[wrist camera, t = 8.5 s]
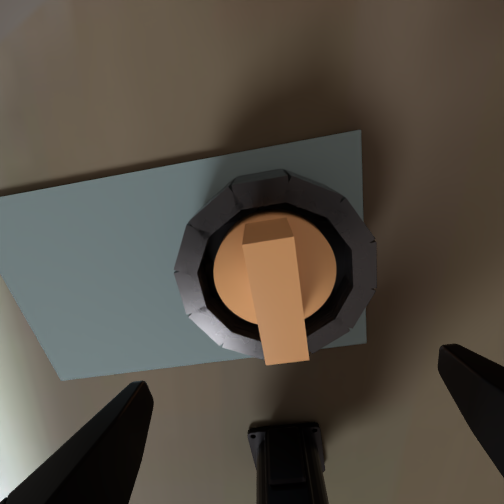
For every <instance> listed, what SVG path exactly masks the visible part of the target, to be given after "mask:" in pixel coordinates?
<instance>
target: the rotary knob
mask: <svg viewBox="0 0 504 504" xmlns="http://www.w3.org/2000/svg"><path fill="white" fill-rule="evenodd" d="M213 272H214V282H215V286H216V289H217V292H218V294H219V296H220V298H221V299H222V301H223V302H224V304H225V305H226V306H227V307H228V308H229V309H230V310H231V311H232V312H233V313H235V314H236V315H238V316H239V317H241V318H242V319H244V320H246V321H249V322H251V323H254V324H258V328H259V333H260V338H261V343H262V348H263V353H264V358H265V363H266V365H273V364H282V363H290V362H299V361H307V360H309V353H308V345H307V337H306V329H305V321H304V319H305V318H307V317H309V316H311V315H312V314H313V313H315V312H316V311H317V310H318V309H319V308H320V307H321V306H322V305H323V304H324V303H325V302H326V300H327V299H328V297H329V296H330V294H331V292H332V289H333V287H334V284H335V279H336V260H335V256H334V253H333V250H332V248H331V246H330V244H329V243H328V241H327V240H326V238H325V237H324V236H323V234H322V233H321V232H320V230H319V229H318V228H317V227H316V226H315V225H314V224H313V223H312V222H311V221H310V220H308V219H307V218H305V217H304V216H302V215H300V214H297V213H295V212H292V211H288V210H283V209H266V210H261V211H257V212H254V213H251V214H249V215H247V216H245V217H243V218H242V219H240V220H239V221H238V222H236V223H235V224H234V225H233V226H232V227H231V228H230V229H229V230H228V232H227V233H226V235H225V236H224V238H223V240H222V242H221V244H220V247H219V250H218V252H217V255H216V258H215V262H214V270H213Z"/></svg>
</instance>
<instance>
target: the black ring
mask: <svg viewBox="0 0 504 504" xmlns="http://www.w3.org/2000/svg"><path fill="white" fill-rule="evenodd" d="M266 209H283V210H288V211H292V212H295V213H297V214H300V215H302V216H304V217H305V218H307V219H308V220H310V221H311V222H312V223H313V224H314V225H315V226H316V227H317V228H318V229H319V230H320V232H321V233H322V234H323V236H324V237H325V238H326V240H327V241H328V243H329V244H330V246H331V248H332V250H333V253H334V256H335V260H336V279H335V284H334V287H333V289H332V292H331V294H330V296H329V297H328V299H327V300H326V302H325V303H324V304H323V305H322V306H321V307H320V308H319V309H318V310H317V311H316V312H315V313H313V314H312V315H311V316H309V317H307V318H305V319H304V321H305V329H306V337H307V345H308V353H309V350H310V352H311V353H312V354H313V353H315V352H316V351H318V350H320V349H321V348H323V347H325V346H326V345H328V344H330V343H331V342H333V341H335V340H336V339H338V338H340V337H341V336H343V335H344V334H346V333H348V332H349V331H350V329H349V328H352V329H353V327H354V326H355V324H356V322H357V321H358V319H359V318H360V316H361V314H362V313H363V311H364V309H365V308H366V306H367V305H368V303H369V301H370V300H371V298H372V296H373V295H374V293H375V291H376V290H375V289H374V288H377V259H376V241H375V240H374V239H375V238H374V236H373V235H372V233H371V232H370V231H369V229H368V228H367V226H366V225H365V224H364V222H363V221H362V219H361V218H360V216H359V215H358V214H357V212H356V211H355V209H354V208H353V207H352V205H351V204H350V202H349V201H348V200H347V198H346V197H344V196H343V195H341V194H340V193H338V192H336V191H335V190H333V189H331V188H329V187H328V186H326V185H324V184H322V183H319V182H317V181H314V180H312V179H309V178H306V177H304V176H301V175H299V174H296V173H294V172H291V171H288V170H286V169H283V170H282V169H281V168H280V169H275V170H269V171H264V172H258V173H253V174H247V175H241V176H237V178H234V179H233V180H231V181H230V182H229V183H228V184H227V185H226V186H225V187H224V188H222V189H221V190H220V191H219V192H218V193H217V194H216V195H214V196H213V197H212V198H211V199H210V200H209V201H208V202H206V203H205V204H204V205H203V206H202V207H201V208H200V210H199V211H198V212H197V213H196V214H195V215H194V216H193V217H192V218H191V219H190V220H189V221H188V223H187V225H186V228H185V231H184V235H183V238H182V242H181V245H180V249H179V252H178V256H177V259H176V263H175V266H174V270H175V272H174V276H175V279H176V282H177V286H178V289H179V292H180V295H181V298H182V302H183V305H184V308H185V311H186V314H189V316H188V317H189V318H190V319H191V320H192V321H193V322H194V323H195V324H196V325H197V326H198V327H200V328H201V329H202V330H203V331H204V332H205V333H206V334H207V335H208V336H209V337H210V338H211V339H213V340H214V341H215V342H216V343H217V344H218V345H219V346H220V345H221V344H222V347H223V348H226V349H229V350H233V351H236V352H239V353H242V354H246V355H249V356H252V357H256V358H259V359H262V360H263V359H264V353H263V348H262V343H261V338H260V333H259V328H258V324H254V323H251V322H249V321H246V320H244V319H242V318H241V317H239V316H238V315H236V314H235V313H233V312H232V311H231V310H230V309H229V308H228V307H227V306H226V305H225V304H224V302H223V301H222V299H221V298H220V296H219V294H218V292H217V289H216V286H215V282H214V272H213V270H214V262H215V258H216V255H217V252H218V250H219V247H220V244H221V242H222V240H223V238H224V236H225V235H226V233H227V232H228V230H229V229H230V228H231V227H232V226H233V225H234V224H235V223H236V222H238V221H239V220H240V219H242V218H243V217H245V216H247V215H249V214H251V213H254V212H257V211H261V210H266ZM309 355H310V353H309Z"/></svg>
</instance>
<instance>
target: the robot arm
mask: <svg viewBox="0 0 504 504" xmlns="http://www.w3.org/2000/svg"><path fill="white" fill-rule="evenodd" d="M438 371H439V374H440V376H441V378H442V379H443V381H444V383H445V385H446V387H447V388H448V390H449V392H450V394H451V395H452V397H453V399H454V401H455V403H456V404H457V406H458V408H459V410H460V411H461V413H462V415H463V417H464V419H465V420H466V422H467V424H468V425H469V427H470V429H471V430H472V432H473V433H474V435H475V436H476V438H477V440H478V441H479V442H480V444H481V445H482V447H483V448H484V450H485V451H486V453H487V454H488V456H489V457H490V458H491V460H492V461H493V463H494V464H495V466H496V467H497V469H498V470H499V472H500V473H501V475H502V476H503V477H504V367H503V366H501V365H499V364H497V363H495V362H493V361H491V360H489V359H487V358H485V357H483V356H481V355H479V354H477V353H475V352H473V351H471V350H469V349H467V348H465V347H463V346H461V345H458V344H447V345H442V346H441V347H440V349H439V359H438ZM153 405H154V401H153V397H152V395H151V392H150V390H149V388H148V385H147V383H146V382H145V381H136V382H132V383H130V384H129V385H128V386H127V387H126V388H124V389H123V390H122V391H121V392H120V393H119V394H118V395H117V396H116V397H115V398H114V399H112V400H111V401H110V402H109V403H108V404H107V405H106V406H105V407H104V408H103V409H102V410H100V411H99V412H98V413H97V414H96V415H95V416H94V417H93V418H92V419H91V420H90V421H88V422H87V423H86V424H85V425H84V426H83V427H82V428H81V429H80V430H79V431H78V432H76V433H75V434H74V435H73V436H72V437H71V438H70V439H69V440H68V441H67V442H66V443H64V444H63V445H62V446H61V447H60V448H59V449H58V450H57V451H56V452H55V453H54V454H52V455H51V456H50V457H49V458H48V459H47V460H46V461H45V462H44V463H43V464H42V465H40V466H39V467H38V468H37V469H36V470H35V471H34V472H33V473H32V474H31V475H29V476H28V477H27V478H26V479H25V480H24V481H23V482H22V483H21V484H20V485H19V486H17V487H16V488H15V489H14V490H13V491H12V492H11V493H10V494H9V495H8V498H7V497H6V498H4V499H3V500H2V501H1V502H0V504H128V503H129V500H130V497H131V494H132V490H133V487H134V484H135V481H136V477H137V474H138V471H139V468H140V464H141V461H142V457H143V453H144V448H145V443H146V439H147V434H148V429H149V425H150V420H151V416H152V411H153ZM248 440H249V444H250V448H251V452H252V455H253V459H254V463H255V467H256V470H257V502H256V504H329V502H328V497H327V492H326V487H325V482H324V477H323V472H324V471H325V465H324V457H323V448H322V440H321V432H320V426H319V424H318V423H316V422H312V423H302V424H292V425H282V426H272V427H262V428H252V429H249V430H248Z"/></svg>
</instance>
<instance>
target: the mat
mask: <svg viewBox="0 0 504 504" xmlns="http://www.w3.org/2000/svg"><path fill="white" fill-rule="evenodd" d="M280 168H281V169H282V170H283V169H286V170H288V171H291V172H294V173H296V174H299V175H301V176H304V177H306V178H309V179H312V180H314V181H317V182H319V183H322V184H324V185H326V186H328V187H329V188H331V189H333V190H335V191H336V192H338V193H340V194H341V195H343V196H344V197H346V198H347V200H348V201H349V202H350V204H351V205H352V207H353V208H354V209H355V211H356V212H357V214H358V215H359V216H360V218H361V219H362V221H363V185H362V147H361V130H355V131H350V132H345V133H339V134H334V135H329V136H323V137H318V138H313V139H307V140H302V141H297V142H291V143H286V144H281V145H275V146H270V147H265V148H259V149H254V150H249V151H243V152H238V153H233V154H227V155H222V156H217V157H211V158H206V159H201V160H195V161H190V162H185V163H179V164H174V165H169V166H163V167H158V168H152V169H147V170H142V171H136V172H131V173H126V174H120V175H115V176H110V177H104V178H99V179H94V180H88V181H83V182H78V183H72V184H67V185H62V186H56V187H51V188H46V189H40V190H35V191H30V192H24V193H19V194H14V195H8V196H3V197H0V274H1V276H2V278H3V280H4V281H5V283H6V285H7V287H8V288H9V290H10V292H11V294H12V295H13V297H14V299H15V301H16V302H17V304H18V306H19V308H20V309H21V311H22V313H23V315H24V316H25V318H26V320H27V322H28V323H29V325H30V327H31V329H32V330H33V332H34V334H35V336H36V338H37V339H38V341H39V343H40V345H41V346H42V348H43V350H44V352H45V353H46V355H47V357H48V359H49V360H50V362H51V364H52V366H53V367H54V369H55V371H56V373H57V374H58V376H59V378H60V380H61V381H63V380H71V379H80V378H88V377H96V376H104V375H112V374H120V373H128V372H136V371H145V370H153V369H161V368H169V367H177V366H185V365H193V364H202V363H210V362H218V361H226V360H234V359H242V358H250V357H252V356H249V355H246V354H242V353H239V352H236V351H233V350H229V349H226V348H223V347H222V344H221V345H220V346H219V345H218V344H217V343H216V342H215V341H214V340H213V339H211V338H210V337H209V336H208V335H207V334H206V333H205V332H204V331H203V330H202V329H201V328H200V327H198V326H197V325H196V324H195V323H194V322H193V321H192V320H191V319H190V318H189V317H188V316H189V314H186V311H185V308H184V305H183V302H182V298H181V295H180V292H179V289H178V286H177V282H176V279H175V276H174V272H175V270H174V266H175V263H176V259H177V256H178V252H179V249H180V245H181V242H182V238H183V235H184V231H185V228H186V225H187V223H188V221H189V220H190V219H191V218H192V217H193V216H194V215H195V214H196V213H197V212H198V211H199V210H200V208H201V207H202V206H203V205H204V204H205V203H206V202H208V201H209V200H210V199H211V198H212V197H213V196H214V195H216V194H217V193H218V192H219V191H220V190H221V189H222V188H224V187H225V186H226V185H227V184H228V183H229V182H230V181H231V180H233V179H234V178H237V176H241V175H247V174H253V173H258V172H264V171H269V170H275V169H280ZM349 329H350V331H349V332H348V333H346V334H344V335H343V336H341V337H340V338H338V339H336V340H335V341H333V342H331V343H330V344H328V345H326V346H325V347H323V348H321V349H324V348H332V347H340V346H348V345H356V344H364V343H367V339H366V308H365V309H364V311H363V313H362V314H361V316H360V318H359V319H358V321H357V322H356V324H355V326H354V327H353V329H352V328H349Z"/></svg>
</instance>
